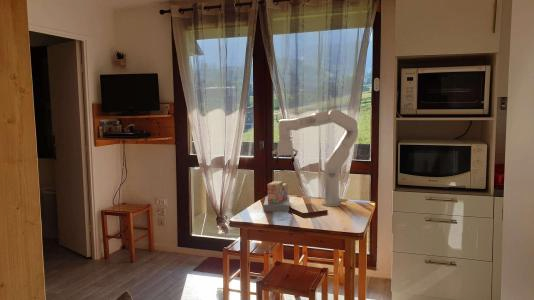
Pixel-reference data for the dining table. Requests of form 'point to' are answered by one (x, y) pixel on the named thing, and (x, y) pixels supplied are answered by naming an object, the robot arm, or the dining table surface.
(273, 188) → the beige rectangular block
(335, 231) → the dining table surface
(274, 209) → the grey box
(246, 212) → the dining table surface
